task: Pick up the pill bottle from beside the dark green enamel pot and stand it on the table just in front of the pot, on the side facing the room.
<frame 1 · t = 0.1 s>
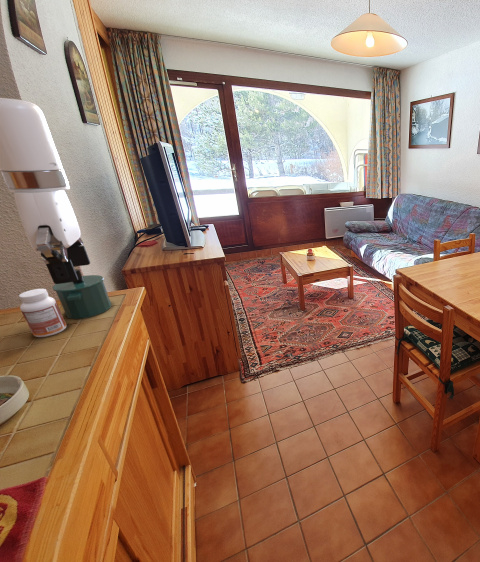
hand: (74, 273, 60), 21 cm above the worktop, tool pointing down, fingers open, 9 cm apart
pill bottle: (51, 332, 79), on the worktop
pot lid: (79, 283, 86), point 8 cm above the worktop, touching pot
pot: (89, 310, 89), on the worktop
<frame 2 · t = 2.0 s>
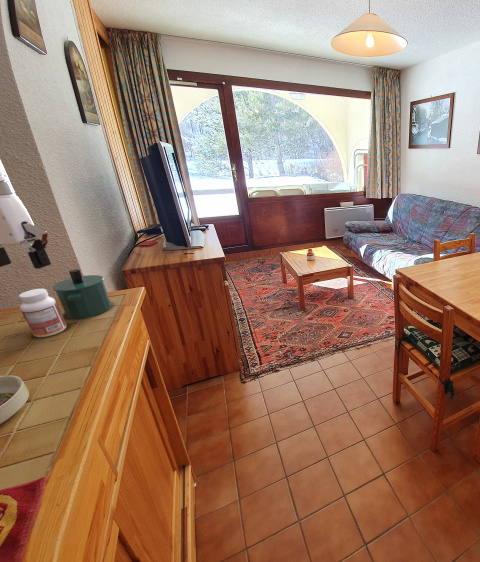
hand: (23, 266, 72), 18 cm above the worktop, tool pointing down, fingers open, 9 cm apart
nothing on the worktop moved.
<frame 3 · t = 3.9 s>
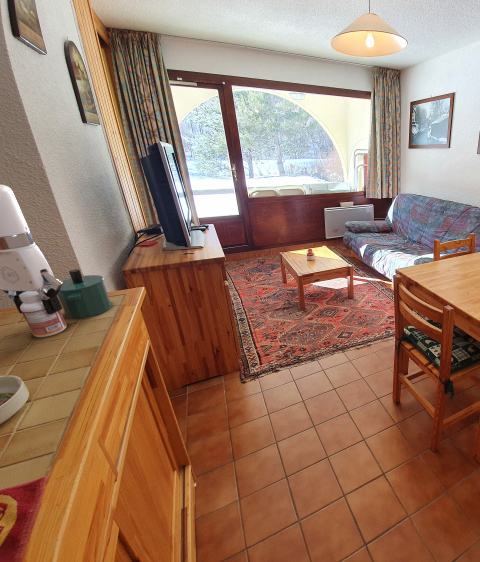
hand: (41, 310, 77), 6 cm above the worktop, tool pointing down, fingers closed on pill bottle, 6 cm apart
pill bottle: (51, 332, 79), on the worktop, touching gripper
everything else where it was.
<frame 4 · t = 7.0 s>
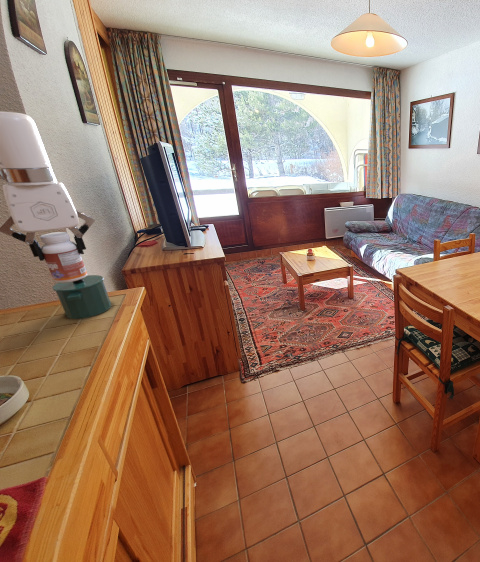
hand: (62, 255, 73), 20 cm above the worktop, tool pointing down, fingers closed on pill bottle, 6 cm apart
pill bottle: (72, 279, 76), point 14 cm above the worktop, touching gripper
everything else where it was.
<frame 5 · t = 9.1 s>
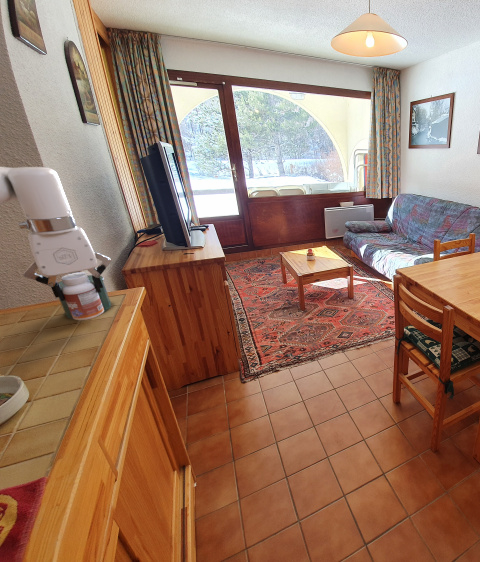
hand: (81, 294, 78), 10 cm above the worktop, tool pointing down, fingers closed on pill bottle, 6 cm apart
pill bottle: (89, 315, 80), point 3 cm above the worktop, touching gripper
everything else where it was.
when the fingers open (6 cm above the worktop, at t = 10.5 s): pill bottle stays where it is, on the worktop.
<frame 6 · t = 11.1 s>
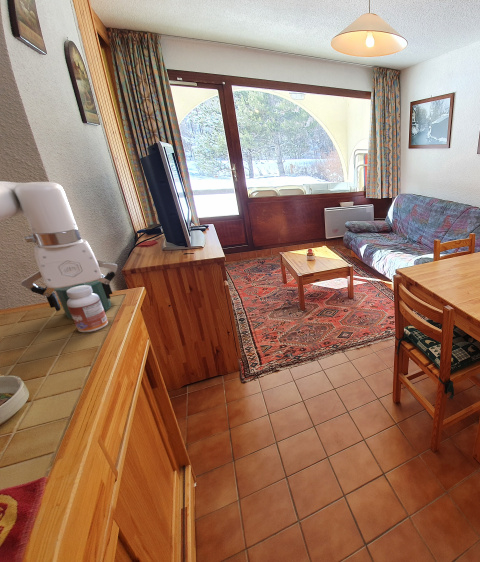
hand: (84, 302, 79), 7 cm above the worktop, tool pointing down, fingers open, 9 cm apart
pill bottle: (94, 327, 82), on the worktop
everything else where it was.
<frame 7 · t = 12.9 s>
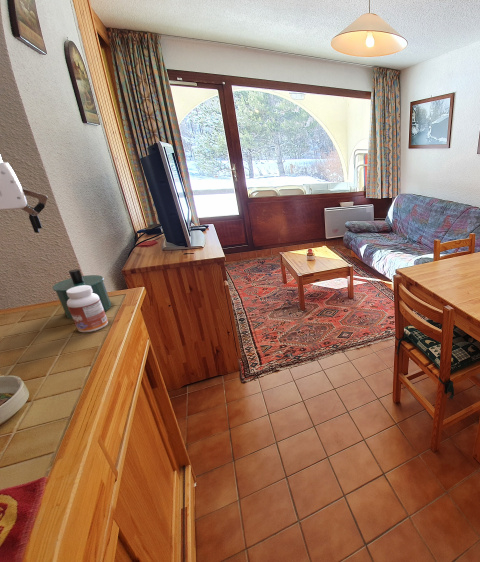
hand: (7, 234, 71), 25 cm above the worktop, tool pointing down, fingers open, 9 cm apart
nothing on the worktop moved.
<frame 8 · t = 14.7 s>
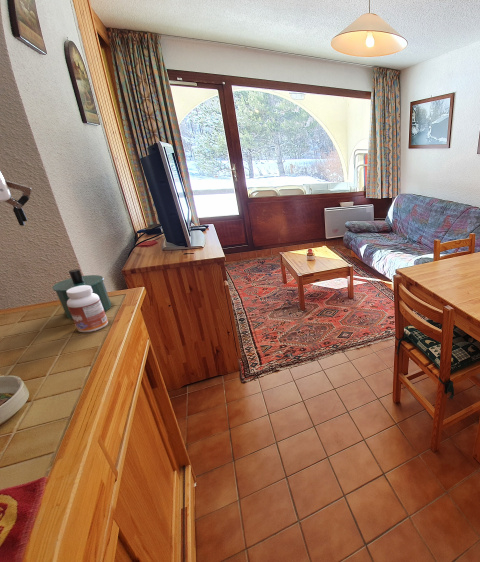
nothing on the worktop moved.
at the end: pill bottle inside the target area on the worktop beside the pot (0.1 cm from its centre), on the worktop; pill bottle tilted 0°; the gripper is holding nothing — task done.
